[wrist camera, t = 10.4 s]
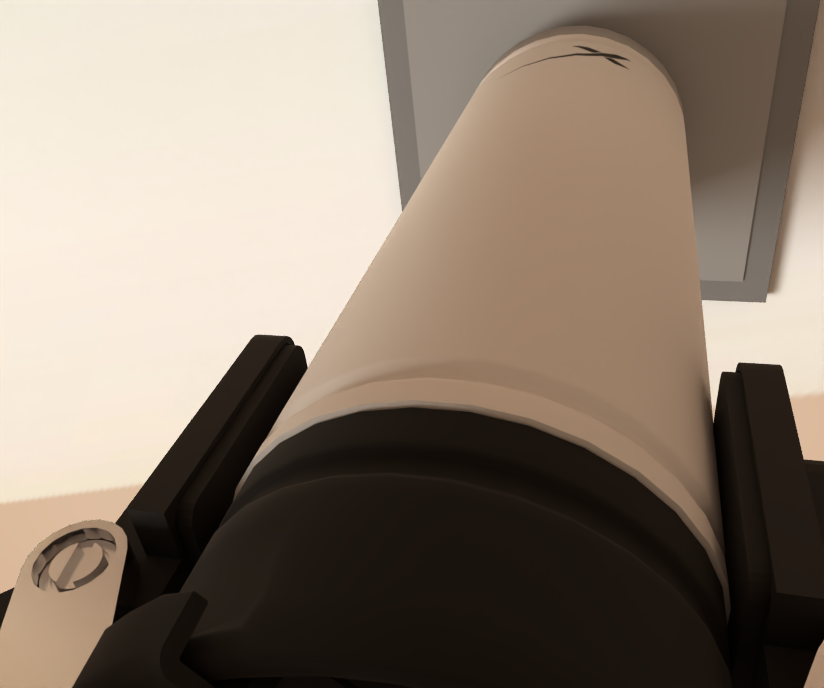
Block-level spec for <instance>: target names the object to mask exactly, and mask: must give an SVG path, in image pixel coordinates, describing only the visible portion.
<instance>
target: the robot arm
mask: <svg viewBox="0 0 824 688" xmlns="http://www.w3.org/2000/svg"><path fill="white" fill-rule="evenodd" d="M307 369H308V367H307V363H306V358H305V354H304V351H303V349H302V347H301V346H296V345H295V344H294V342H293V340H292V339H291V338H290V337H288V336H273V335H255V336H254V337H253V338H252V339H251V340H250V342H249V343H248V344H247V346H246V347H245V348H244V350H243V351H242V352H241V354H240V355H239V356H238V358H237V359H236V361H235V362H234V363H233V365H232V366H231V367H230V369H229V370H228V371H227V373H226V374H225V375H224V377H223V378H222V380H221V381H220V382H219V384H218V385H217V386H216V388H215V389H214V390H213V392H212V393H211V394H210V396H209V397H208V399H207V400H206V401H205V403H204V404H203V405H202V407H201V408H200V409H199V411H198V412H197V413H196V415H195V416H194V417H193V419H192V420H191V421H190V423H189V424H188V425H187V427H186V428H185V429H184V431H183V432H182V434H181V435H180V436H179V438H178V439H177V440H176V442H175V443H174V444H173V446H172V447H171V448H170V450H169V451H168V453H167V454H166V455H165V457H164V458H163V459H162V461H161V462H160V463H159V465H158V466H157V467H156V469H155V470H154V472H153V473H152V474H151V476H150V477H149V478H148V480H147V481H146V482H145V484H144V485H143V486H142V488H141V489H140V491H139V492H138V493H137V495H136V496H135V497H134V499H133V500H132V501H131V503H130V504H129V505H128V507H127V508H126V510H125V511H124V512H123V514H122V515H121V516H120V518H119V519H118V520H117V522H116V523H113V522H109V521H104V520H89V521H82V522H78V523H75V524H72V525H69V526H66V527H64V528H62V529H60V530H58V531H56V532H54V533H52V534H51V535H50V536H49V537H47V538H46V539H45V540H43V541H42V542H40V543H39V544H38V545H37V547H35V548H34V550H33V551H32V552H31V553H30V554H29V555H28V557H27V559H26V560H25V562H24V564H23V566H22V568H21V570H20V574H19V576H18V579H17V582H16V585H15V587H14V588H12V589H10V590H8V591H5V592H3V593H1V594H0V688H72V687H73V685H74V683H75V681H76V680H77V678H78V676H79V674H80V673H81V671H82V669H83V667H84V666H85V664H86V662H87V660H88V659H89V657H90V655H91V653H92V652H93V650H94V648H95V646H96V645H97V643H98V641H99V639H100V638H101V636H102V634H103V632H104V630H105V629H106V628H108V627H109V626H111V625H112V624H114V623H115V622H116V621H118V620H119V619H121V618H122V617H124V616H125V615H127V614H128V613H129V612H131V611H133V610H135V609H137V608H139V607H141V606H142V605H144V604H146V603H148V602H150V601H152V600H154V599H156V598H158V597H160V596H162V595H165V594H173V593H179V592H180V590H181V589H182V587H183V585H184V584H185V582H186V580H187V578H188V577H189V575H190V573H191V572H192V570H193V568H194V567H195V565H196V563H197V561H198V560H199V558H200V556H201V555H202V553H203V551H204V550H205V548H206V546H207V544H208V543H209V541H210V539H211V538H212V536H213V534H214V533H215V531H216V530H218V529H219V525H220V523H221V522H222V520H223V518H224V516H225V515H226V513H227V511H228V509H229V508H230V506H231V504H232V503H233V499H234V495H235V490H236V488H237V486H238V484H239V482H240V481H241V479H242V477H243V475H244V474H245V472H246V470H247V468H248V467H249V465H250V463H251V462H252V460H253V458H254V457H255V455H256V453H257V452H258V450H259V448H260V447H261V445H262V443H263V442H264V441H265V439H266V438H267V436H268V434H269V432H270V431H271V429H272V427H273V426H274V424H275V422H276V420H277V419H278V417H279V415H280V414H281V412H282V410H283V409H284V407H285V405H286V404H287V402H288V400H289V399H290V397H291V395H292V394H293V392H294V390H295V389H296V387H297V385H298V384H299V382H300V380H301V379H302V377H303V376H304V374H305V372H306V371H307ZM713 428H714V438H715V449H716V459H717V470H718V480H719V491H720V501H721V512H722V522H723V533H724V543H725V561H726V569H727V577H728V585H729V595H730V606H731V611H730V616H729V620H728V625H727V627H728V638H729V649H730V660H731V665H730V669H729V671H730V677H731V685H732V688H824V461H814V460H804V459H803V455H802V451H801V446H800V442H799V438H798V433H797V429H796V424H795V420H794V416H793V411H792V407H791V402H790V398H789V394H788V389H787V385H786V381H785V376H784V372H783V369H782V366H781V365H772V364H755V363H738V365H737V368H736V372H722V374H721V378H720V384H719V390H718V397H717V403H716V410H715V417H714V423H713Z"/></svg>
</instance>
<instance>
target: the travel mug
mask: <svg viewBox="0 0 824 688" xmlns="http://www.w3.org/2000/svg"><path fill="white" fill-rule="evenodd" d="M730 611H731V606H730V595H729V585H728V577H727V569H726V561H725V543H724V533H723V522H722V512H721V501H720V491H719V480H718V470H717V459H716V449H715V438H714V428H713V416H712V404H711V394H710V383H709V373H708V362H707V352H706V342H705V331H704V321H703V310H702V300H701V289H700V279H699V269H698V258H697V248H696V237H695V227H694V216H693V206H692V196H691V185H690V175H689V164H688V154H687V144H686V133H685V123H684V115H683V106H682V102H681V99H680V96H679V94H678V91H677V88H676V85H675V83H674V81H673V80H672V78H671V77H670V75H669V73H668V72H667V70H666V68H665V67H664V65H663V64H662V63H661V62H660V61H659V60H658V59H657V58H656V57H655V56H654V55H653V54H652V53H651V52H650V51H649V50H648V49H646V48H645V47H643V46H642V45H640V44H639V43H637V42H636V41H634V40H633V39H631V38H630V37H627V36H625V35H622V34H619V33H617V32H614V31H612V30H609V29H604V28H598V27H591V26H565V27H559V28H555V29H551V30H547V31H543V32H539V33H537V34H535V35H533V36H531V37H529V38H527V39H525V40H523V41H521V42H519V43H518V44H516V45H515V46H514V47H512V48H511V49H510V50H508V51H507V52H506V53H504V54H503V55H502V56H501V57H500V58H499V59H498V60H497V61H496V62H495V64H494V65H493V66H492V67H491V68H490V69H489V70H488V71H487V73H486V75H485V76H484V78H483V79H482V81H481V83H480V84H479V86H478V88H477V89H476V91H475V93H474V94H473V96H472V98H471V99H470V101H469V103H468V104H467V106H466V108H465V109H464V111H463V113H462V114H461V116H460V118H459V119H458V121H457V122H456V124H455V126H454V127H453V129H452V131H451V132H450V134H449V136H448V137H447V139H446V141H445V142H444V144H443V146H442V147H441V149H440V151H439V152H438V154H437V156H436V157H435V159H434V161H433V162H432V164H431V165H430V167H429V169H428V170H427V172H426V174H425V175H424V177H423V179H422V180H421V182H420V184H419V185H418V187H417V189H416V190H415V192H414V194H413V195H412V197H411V199H410V200H409V202H408V204H407V205H406V207H405V208H404V210H403V212H402V213H401V215H400V217H399V218H398V220H397V222H396V223H395V225H394V227H393V228H392V230H391V232H390V233H389V235H388V237H387V238H386V240H385V242H384V243H383V245H382V247H381V248H380V250H379V251H378V253H377V255H376V256H375V258H374V260H373V261H372V263H371V265H370V266H369V268H368V270H367V271H366V273H365V275H364V276H363V278H362V280H361V281H360V283H359V285H358V286H357V288H356V290H355V291H354V293H353V294H352V296H351V298H350V299H349V301H348V303H347V304H346V306H345V308H344V309H343V311H342V313H341V314H340V316H339V318H338V319H337V321H336V323H335V324H334V326H333V328H332V329H331V331H330V333H329V334H328V336H327V337H326V339H325V341H324V342H323V344H322V346H321V347H320V349H319V351H318V352H317V354H316V356H315V357H314V359H313V361H312V362H311V364H310V366H309V367H308V369H307V371H306V372H305V374H304V376H303V377H302V379H301V380H300V382H299V384H298V385H297V387H296V389H295V390H294V392H293V394H292V395H291V397H290V399H289V400H288V402H287V404H286V405H285V407H284V409H283V410H282V412H281V414H280V415H279V417H278V419H277V420H276V422H275V424H274V426H273V427H272V429H271V431H270V432H269V434H268V436H267V438H266V439H265V441H264V442H263V443H262V445H261V447H260V448H259V450H258V452H257V453H256V455H255V457H254V458H253V460H252V462H251V463H250V465H249V467H248V468H247V470H246V472H245V474H244V475H243V477H242V479H241V481H240V482H239V484H238V486H237V488H236V490H235V495H234V499H233V503H232V504H231V506H230V508H229V509H228V511H227V513H226V515H225V516H224V518H223V520H222V522H221V523H220V525H219V529H218V530H216V531H215V533H214V534H213V536H212V538H211V539H210V541H209V543H208V544H207V546H206V548H205V550H204V551H203V553H202V555H201V556H200V558H199V560H198V561H197V563H196V565H195V567H194V568H193V570H192V572H191V573H190V575H189V577H188V578H187V580H186V582H185V584H184V585H183V587H182V589H181V590H180V592H179V593H173V594H165V595H162V596H160V597H158V598H156V599H154V600H152V601H150V602H148V603H146V604H144V605H142V606H141V607H139V608H137V609H135V610H133V611H131V612H129V613H128V614H127V615H125V616H124V617H122V618H121V619H119V620H118V621H116V622H115V623H114V624H112V625H111V626H109V627H108V628H106V629H105V630H104V632H103V634H102V636H101V638H100V639H99V641H98V643H97V645H96V646H95V648H94V650H93V652H92V653H91V655H90V657H89V659H88V660H87V662H86V664H85V666H84V667H83V669H82V671H81V673H80V674H79V676H78V678H77V680H76V681H75V683H74V685H73V687H72V688H732V685H731V677H730V671H729V669H730V665H731V660H730V649H729V638H728V627H727V625H728V620H729V616H730Z"/></svg>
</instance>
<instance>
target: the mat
mask: <svg viewBox="0 0 824 688" xmlns="http://www.w3.org/2000/svg"><path fill="white" fill-rule="evenodd" d="M819 2H820V0H378V7H379V15H380V24H381V32H382V41H383V50H384V58H385V67H386V75H387V84H388V93H389V101H390V110H391V118H392V127H393V135H394V144H395V153H396V161H397V170H398V178H399V187H400V196H401V204H402V212H403V210H404V208H405V207H406V205H407V204H408V202H409V200H410V199H411V197H412V195H413V194H414V192H415V190H416V189H417V187H418V185H419V184H420V182H421V180H422V179H423V177H424V175H425V174H426V172H427V170H428V169H429V167H430V165H431V164H432V162H433V161H434V159H435V157H436V156H437V154H438V152H439V151H440V149H441V147H442V146H443V144H444V142H445V141H446V139H447V137H448V136H449V134H450V132H451V131H452V129H453V127H454V126H455V124H456V122H457V121H458V119H459V118H460V116H461V114H462V113H463V111H464V109H465V108H466V106H467V104H468V103H469V101H470V99H471V98H472V96H473V94H474V93H475V91H476V89H477V88H478V86H479V84H480V83H481V81H482V79H483V78H484V76H485V75H486V73H487V71H488V70H489V69H490V68H491V67H492V66H493V65H494V64H495V62H496V61H497V60H498V59H499V58H500V57H501V56H502V55H503V54H504V53H506V52H507V51H508V50H510V49H511V48H512V47H514V46H515V45H516V44H518V43H519V42H521V41H523V40H525V39H527V38H529V37H531V36H533V35H535V34H537V33H539V32H543V31H547V30H551V29H555V28H559V27H565V26H591V27H598V28H604V29H609V30H612V31H614V32H617V33H619V34H622V35H625V36H627V37H630V38H631V39H633V40H634V41H636V42H637V43H639V44H640V45H642V46H643V47H645V48H646V49H648V50H649V51H650V52H651V53H652V54H653V55H654V56H655V57H656V58H657V59H658V60H659V61H660V62H661V63H662V64H663V65H664V67H665V68H666V70H667V72H668V73H669V75H670V77H671V78H672V80H673V81H674V83H675V85H676V88H677V91H678V94H679V96H680V99H681V102H682V106H683V115H684V123H685V133H686V144H687V154H688V164H689V175H690V185H691V196H692V206H693V216H694V227H695V237H696V248H697V258H698V269H699V279H700V289H701V300H717V301H741V302H766V297H767V291H768V286H769V280H770V275H771V269H772V263H773V258H774V252H775V247H776V241H777V236H778V230H779V225H780V219H781V213H782V208H783V202H784V197H785V191H786V186H787V180H788V175H789V169H790V163H791V158H792V152H793V147H794V141H795V136H796V130H797V124H798V119H799V113H800V108H801V102H802V97H803V91H804V86H805V80H806V74H807V69H808V63H809V58H810V52H811V47H812V41H813V36H814V30H815V24H816V19H817V13H818V8H819Z"/></svg>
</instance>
